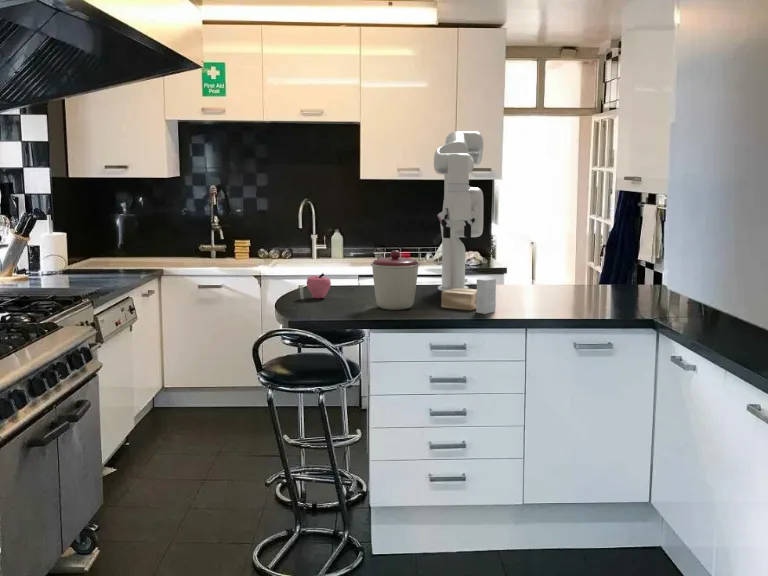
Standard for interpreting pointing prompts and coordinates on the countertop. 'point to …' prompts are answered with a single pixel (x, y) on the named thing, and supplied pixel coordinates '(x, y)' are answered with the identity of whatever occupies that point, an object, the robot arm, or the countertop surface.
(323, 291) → the apple
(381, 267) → the canister
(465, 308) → the oak block
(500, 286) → the countertop surface
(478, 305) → the skincare box
